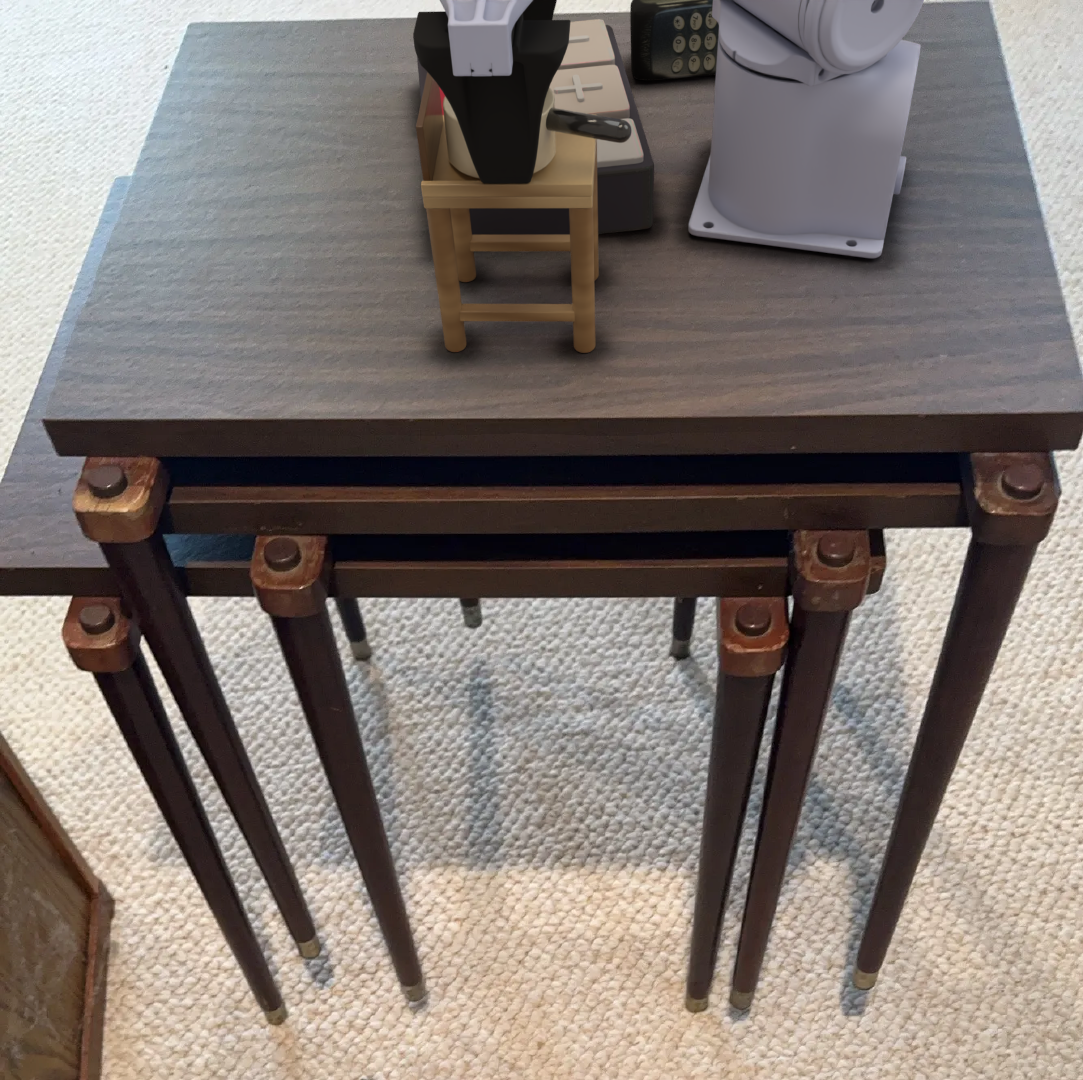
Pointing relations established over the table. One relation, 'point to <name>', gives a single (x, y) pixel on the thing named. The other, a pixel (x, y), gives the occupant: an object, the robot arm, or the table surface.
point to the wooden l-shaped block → (549, 187)
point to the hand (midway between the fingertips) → (511, 140)
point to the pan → (550, 124)
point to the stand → (459, 244)
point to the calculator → (622, 168)
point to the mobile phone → (673, 39)
